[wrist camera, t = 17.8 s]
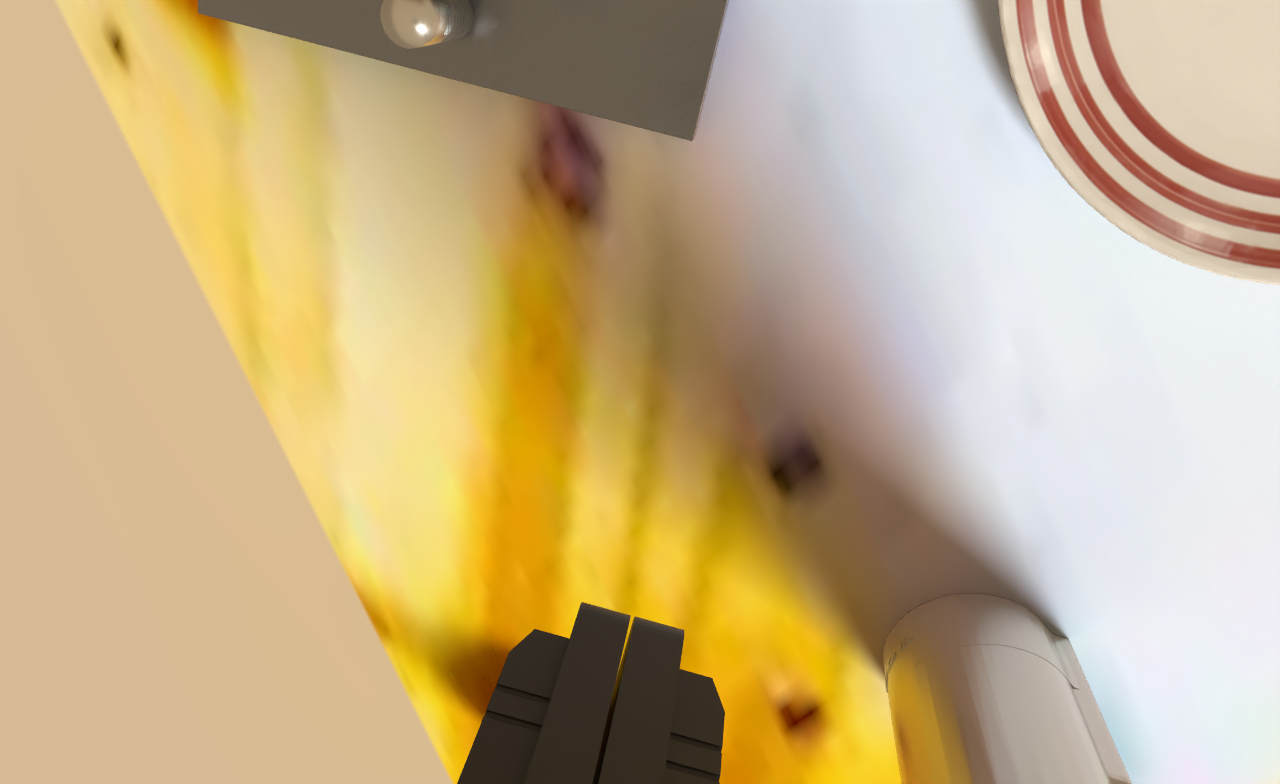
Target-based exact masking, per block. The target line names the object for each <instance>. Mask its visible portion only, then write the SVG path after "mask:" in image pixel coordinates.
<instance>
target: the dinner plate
mask: <svg viewBox="0 0 1280 784" xmlns="http://www.w3.org/2000/svg"><path fill="white" fill-rule="evenodd" d="M998 8H999V17H1000V26H1001V32H1002V39H1003V44H1004V48H1005V53H1006V57H1007V61H1008V66H1009V70H1010V74H1011V77H1012V80H1013V83H1014V86H1015V89H1016V92H1017V95H1018V98H1019V101H1020V104H1021V107H1022V109H1023V111H1024V113H1025V116H1026V118H1027V120H1028V123H1029V124H1030V126H1031V128H1032V130H1033V132H1034V133H1035V135H1036V137H1037V139H1038V141H1039V143H1040V144H1041V146H1042V148H1043V150H1044V151H1045V153H1046V154H1047V156H1048V157H1049V159H1050V160H1051V162H1052V163H1053V165H1054V166H1055V168H1056V169H1057V170H1059V173H1060V174H1061V175H1062V176H1063V177H1064V179H1065V180H1066V181H1067V182H1068V184H1069V185H1070V186H1071V187H1072V188H1073V189H1074V190H1075V191H1076V192H1077V193H1078V194H1079V195H1080V196H1081V197H1082V198H1083V199H1084V200H1085V201H1086V202H1087V203H1088V204H1089V205H1090V206H1091V207H1093V208H1094V209H1095V210H1096V211H1097V212H1099V213H1100V214H1101V215H1102V216H1103V217H1105V218H1106V219H1107V220H1108V221H1109V222H1111V223H1112V224H1114V225H1115V226H1116V227H1118V228H1119V229H1121V230H1122V231H1123V232H1125V233H1127V234H1128V235H1130V236H1131V237H1133V238H1134V239H1136V240H1137V241H1139V242H1141V243H1143V244H1145V245H1147V246H1149V247H1150V248H1152V249H1154V250H1156V251H1158V252H1160V253H1162V254H1164V255H1167V256H1169V257H1171V258H1173V259H1176V260H1178V261H1180V262H1183V263H1186V264H1189V265H1192V266H1195V267H1198V268H1201V269H1204V270H1207V271H1210V272H1213V273H1216V274H1220V275H1224V276H1228V277H1232V278H1237V279H1242V280H1248V281H1254V282H1259V283H1266V284H1276V285H1280V0H998Z"/></svg>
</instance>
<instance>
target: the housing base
mask: <svg viewBox="0 0 1280 784" xmlns="http://www.w3.org/2000/svg"><path fill="white" fill-rule="evenodd" d="M728 1H729V0H198V13H199V14H203V15H207V16H211V17H215V18H219V19H223V20H226V21H230V22H234V23H238V24H242V25H246V26H250V27H253V28H257V29H261V30H265V31H269V32H273V33H277V34H281V35H284V36H288V37H292V38H296V39H300V40H304V41H308V42H311V43H315V44H319V45H323V46H327V47H331V48H335V49H338V50H342V51H346V52H350V53H354V54H358V55H362V56H365V57H369V58H373V59H377V60H381V61H385V62H389V63H393V64H396V65H400V66H404V67H408V68H412V69H416V70H420V71H423V72H427V73H431V74H435V75H439V76H443V77H447V78H450V79H454V80H458V81H462V82H466V83H470V84H474V85H477V86H481V87H485V88H489V89H493V90H497V91H501V92H505V93H508V94H512V95H516V96H520V97H524V98H528V99H532V100H535V101H539V102H543V103H547V104H551V105H555V106H559V107H562V108H566V109H570V110H574V111H578V112H582V113H586V114H589V115H593V116H597V117H601V118H605V119H609V120H613V121H617V122H620V123H624V124H628V125H632V126H636V127H640V128H644V129H647V130H651V131H655V132H659V133H663V134H667V135H671V136H674V137H678V138H682V139H686V140H690V141H693V139H694V137H695V135H696V130H697V126H698V122H699V118H700V114H701V110H702V106H703V102H704V98H705V94H706V90H707V86H708V82H709V78H710V74H711V70H712V66H713V62H714V58H715V53H716V49H717V45H718V41H719V37H720V33H721V29H722V25H723V21H724V17H725V13H726V9H727V5H728Z"/></svg>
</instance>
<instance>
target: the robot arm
mask: <svg viewBox="0 0 1280 784" xmlns="http://www.w3.org/2000/svg"><path fill="white" fill-rule="evenodd" d="M629 621H630V615H627V614H623V613H620V612H616V611H612V610H609V609H605V608H602V607H598V606H594V605H591V604H587V603H583V602H581V605H580V608H579V611H578V614H577V617H576V621H575V624H574V627H573V630H572V633H571V637H570V639H569V638H565V637H562V636H558V635H555V634H551V633H547V632H544V631H540V630H537V629H534V630H533V631H532V632H531V633H530V634H529V635H528V636H527V637H525V638H524V639H523V640H522V641H521V642H520V643H519V644H518V645H517V646H516V647H514V648H513V649H512V650H511V651H510V652H509V654H508V657H507V660H506V662H505V665H504V667H503V670H502V672H501V675H500V677H499V680H498V682H497V685H496V689H495V690H494V692H493V695H492V697H491V700H490V702H489V705H488V707H487V710H486V714H485V716H484V717H483V720H482V723H481V725H480V728H479V730H478V733H477V735H476V738H475V740H474V743H473V745H472V748H471V750H470V753H469V755H468V758H467V760H466V763H465V765H464V768H463V770H462V773H461V775H460V778H459V780H458V783H457V784H720V783H719V778H720V771H721V757H722V753H721V749H722V744H723V730H724V716H725V711H724V709H723V706H722V703H721V701H720V698H719V695H718V692H717V690H716V687H715V684H714V682H713V679H712V678H710V677H706V676H703V675H699V674H695V673H692V672H688V671H685V670H681V669H680V662H681V655H682V648H683V640H684V630H682V629H678V628H675V627H671V626H667V625H664V624H660V623H657V622H653V621H649V620H646V619H642V618H639V617H634V620H633V623H632V626H631V630H630V633H629V637H628V640H627V644H626V647H625V650H624V654H623V657H622V661H621V664H620V660H621V656H622V651H623V647H624V643H625V638H626V634H627V630H628V625H629ZM619 664H620V668H619ZM883 665H884V671H885V681H886V690H887V692H888V698H889V704H890V710H891V718H892V725H893V731H894V738H895V745H896V751H897V758H898V764H899V771H900V777H901V784H1132V783H1131V780H1130V778H1129V776H1128V773H1127V771H1126V769H1125V766H1124V764H1123V762H1122V760H1121V757H1120V755H1119V753H1118V750H1117V748H1116V746H1115V744H1114V741H1113V739H1112V737H1111V734H1110V732H1109V730H1108V728H1107V725H1106V723H1105V721H1104V718H1103V716H1102V714H1101V712H1100V709H1099V707H1098V705H1097V702H1096V700H1095V698H1094V696H1093V693H1092V691H1091V689H1090V686H1089V684H1088V682H1087V680H1086V677H1085V675H1084V673H1083V670H1082V668H1081V666H1080V664H1079V661H1078V659H1077V657H1076V654H1075V652H1074V650H1073V648H1072V645H1071V643H1070V641H1069V640H1068V639H1066V638H1062V637H1059V636H1056V635H1054V634H1052V633H1051V632H1050V631H1049V630H1048V629H1047V628H1046V626H1045V625H1044V624H1043V623H1042V621H1041V620H1040V619H1039V618H1038V617H1037V616H1036V615H1034V614H1033V613H1032V612H1031V611H1029V610H1028V609H1027V608H1025V607H1023V606H1021V605H1019V604H1017V603H1015V602H1013V601H1011V600H1008V599H1004V598H1001V597H997V596H994V595H985V594H976V593H970V594H954V595H950V596H945V597H940V598H936V599H934V600H931V601H929V602H926V603H924V604H921V605H920V606H918V607H916V608H915V609H913V610H912V611H910V612H908V613H907V614H906V615H905V616H904V617H903V618H901V619H900V620H899V621H898V622H897V623H896V624H895V626H894V627H893V629H892V630H891V632H890V633H889V635H888V637H887V640H886V643H885V646H884V650H883ZM618 669H619V671H618ZM617 673H618V675H617ZM616 677H617V678H616Z"/></svg>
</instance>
